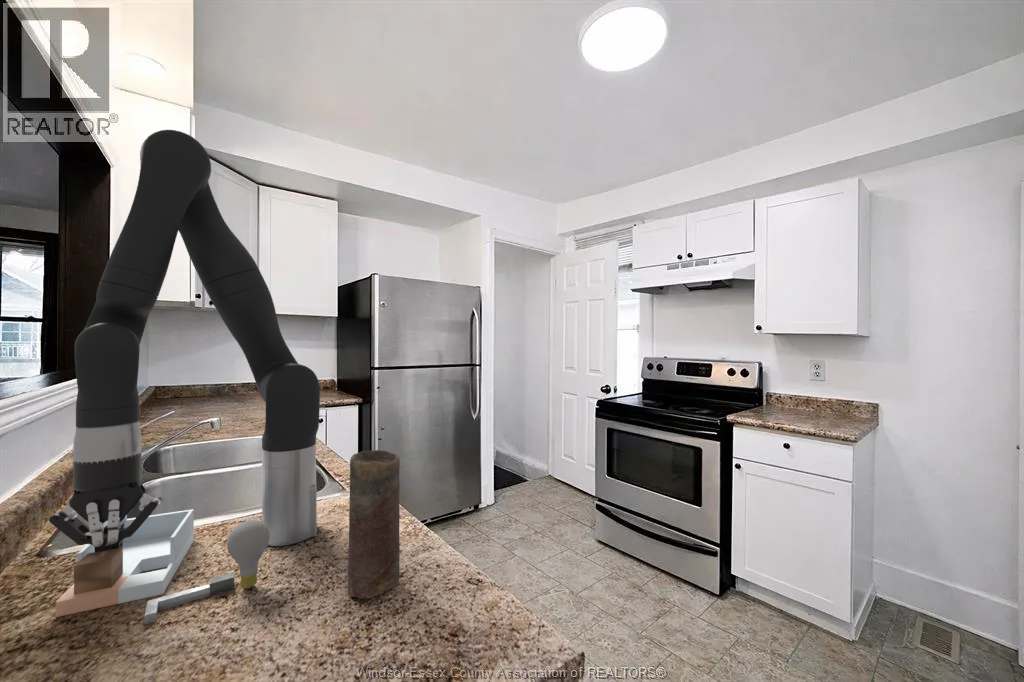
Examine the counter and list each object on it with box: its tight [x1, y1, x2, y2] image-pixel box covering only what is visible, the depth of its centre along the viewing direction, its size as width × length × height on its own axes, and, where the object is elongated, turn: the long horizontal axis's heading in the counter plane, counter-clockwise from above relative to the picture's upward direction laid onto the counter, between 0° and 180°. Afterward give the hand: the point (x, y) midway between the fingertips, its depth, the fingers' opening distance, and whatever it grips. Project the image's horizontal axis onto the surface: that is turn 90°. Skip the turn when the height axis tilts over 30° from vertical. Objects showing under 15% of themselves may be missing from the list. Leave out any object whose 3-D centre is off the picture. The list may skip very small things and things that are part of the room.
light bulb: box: [226, 519, 270, 590], centre depth 63 cm, size 5×6×10 cm
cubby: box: [54, 508, 195, 618], centre depth 68 cm, size 12×19×6 cm, turn 26°
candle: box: [347, 449, 401, 600], centre depth 63 cm, size 8×7×20 cm
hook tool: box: [143, 572, 235, 626], centre depth 60 cm, size 10×4×2 cm, turn 126°
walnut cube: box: [73, 548, 123, 595], centre depth 61 cm, size 4×4×4 cm
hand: (108, 566), depth 64 cm, fingers closed
